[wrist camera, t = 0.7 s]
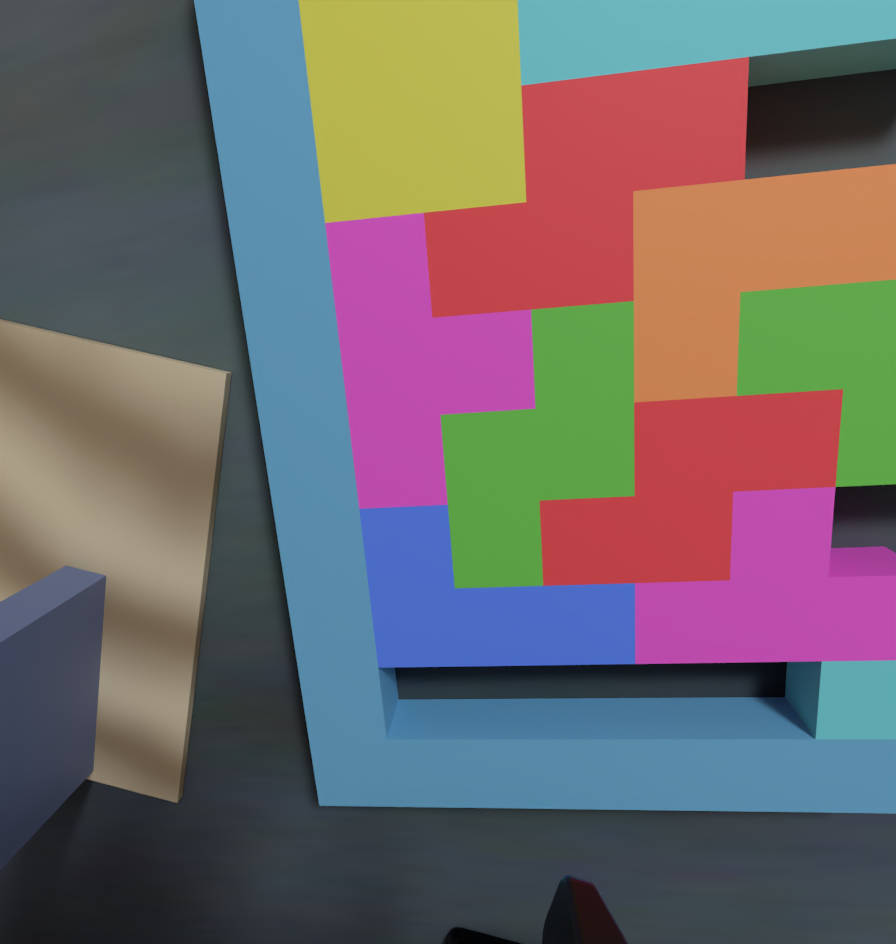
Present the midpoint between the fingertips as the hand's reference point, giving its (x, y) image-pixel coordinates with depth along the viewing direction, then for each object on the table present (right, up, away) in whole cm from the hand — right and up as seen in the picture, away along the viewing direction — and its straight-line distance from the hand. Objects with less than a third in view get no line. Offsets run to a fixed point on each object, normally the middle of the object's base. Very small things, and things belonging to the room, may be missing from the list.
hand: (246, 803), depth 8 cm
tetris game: (+11, +7, +11) cm, 18 cm away
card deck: (-12, -3, +15) cm, 20 cm away
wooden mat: (-14, +1, +15) cm, 21 cm away
